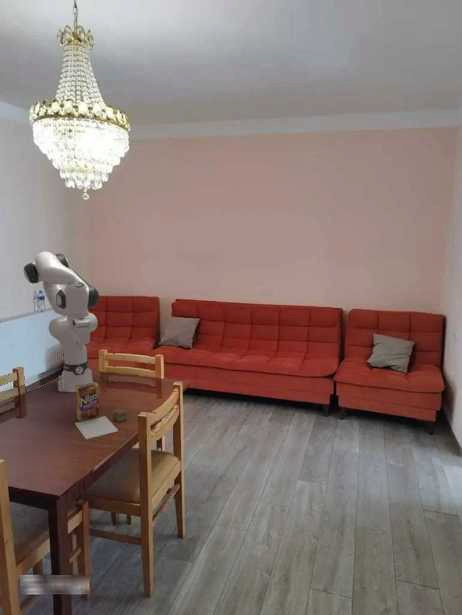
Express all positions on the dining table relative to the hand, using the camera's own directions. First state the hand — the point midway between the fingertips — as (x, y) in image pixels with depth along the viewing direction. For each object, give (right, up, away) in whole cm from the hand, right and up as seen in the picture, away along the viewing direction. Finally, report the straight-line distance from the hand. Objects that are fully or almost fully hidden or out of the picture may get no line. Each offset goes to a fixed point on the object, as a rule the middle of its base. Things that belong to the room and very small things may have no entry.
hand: (79, 349), depth 190 cm
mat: (+11, -31, -11) cm, 35 cm away
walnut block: (+18, -30, -3) cm, 36 cm away
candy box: (+4, -30, -2) cm, 30 cm away
